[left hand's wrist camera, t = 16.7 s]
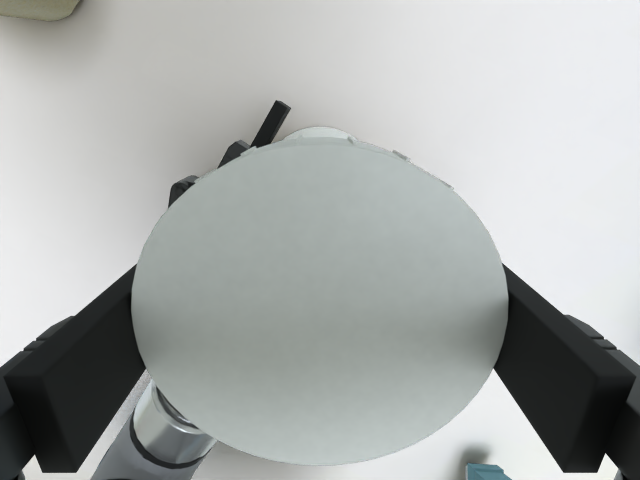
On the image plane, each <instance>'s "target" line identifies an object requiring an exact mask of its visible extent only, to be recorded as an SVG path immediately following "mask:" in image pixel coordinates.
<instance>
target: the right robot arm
mask: <svg viewBox="0 0 640 480" xmlns="http://www.w3.org/2000/svg"><path fill="white" fill-rule="evenodd" d="M290 109H291V108H290V107H289V106H287V105H286V104H284V103H283V102H281V101H277V100H276V101H275V103H274V105H273V107H272V108H271V110H270V112H269V114H268V116H267V117H266V119H265V121H264V123H263V125H262V126H261V128H260V130H259V132H258V133H257V135H256V137H255V139H254V141H253V142H252V144H251V146H250V145H248V144H246V143H245V142H243V141H242V140H239V141H236V142H235V143H233V144H232V145H231V146H229V148H228V149H227V151H226V153H225V155H224V157H223V159H222V161H221V163H220V164H219V166H218V168H220V167H222V166H223V165H225V164H227V163H229V162H230V161H232V160H234V159H236V158H238V157H240V156H241V153H243V152H245V151H246V150H248V149H250V148H252V147H254V146H256V148H260V147H263V146H266V145H269V144H271V142H272V140H273V139H274V137H275V135H276V133H277V132H278V130H279V128H280V127H281V125H282V123H283V121H284V120H285V118H286V116H287V114H288V113H289V111H290ZM218 168H217V169H218ZM196 179H198V177H197V176H192V175H191V176H188V177H186V178H184V179H183V180H181V181H179V182H177V183H175V184H174V185H173V186H172V188H171V192H170V198H169V205H168V209H169V207H170V206H171V205H172V204H173V203H174V202H175V201H176V200H177V199H178V198H179V197H180V196H181V195H182V194H184V193H185V192H186V191H187V190H188V189H189V188H190V187H191V186H193V185H194V184H196V183H195V182H194V181H195V180H196ZM216 442H217V440H216V439H215V438H213V437H212V436H210V435H208V434H207V433H205V432H203V431H202V430H200V429H199V428H198V427H196V426H195V425H194V424H193V423H191V422H190V421H189V420H187V419H186V418H185V417H184V416H183V415H182V414H181V413H180V412H179V411H178V410H177V409H176V408H175V407H174V406H173V405H172V404H171V403H170V402H169V401H168V400H167V399H166V397H165V396H164V395H163V393H162V392H161V391H160V390H159V388H158V387H157V386H156V384H155V382H154V381H153V379H151V381H150V382H149V384H148V386H147V387H146V389H145V391H144V392H143V394H142V395H141V397H140V399H139V401H138V403H137V405H136V407H135V408H134V411H133V413H132V414H131V416H130V417H129V419H128V420H127V422H126V423H125V425H124V426H123V428H122V429H121V431H120V432H119V434H118V436H117V437H116V439H115V441H114V442H113V443H112V445H111V446H110V448H109V449H108V451H107V452H106V454H105V455H104V457H103V459H102V460H101V462H100V464H99V465H98V467H97V469H96V471H95V473H94V475H93V476H92V478H91V479H90V480H191V478H192V476H193V474H194V472H195V470H196V469H197V467H198V466H199V465H200V463H201V462H202V460H203V459H204V458H205V456H206V455H207V454H208V452H209V451H210V450H211V448H212V447H213V446H214V444H215V443H216Z"/></svg>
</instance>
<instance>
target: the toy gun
mask: <svg viewBox="0 0 640 480" xmlns="http://www.w3.org/2000/svg"><path fill="white" fill-rule="evenodd" d="M465 468H466V480H512V479H510V478H509V477H508V476H506V475H505V474H504V470H503V469H501V468H500V467H499V466H497V465H487V464H473V463H467V465H465Z"/></svg>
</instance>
